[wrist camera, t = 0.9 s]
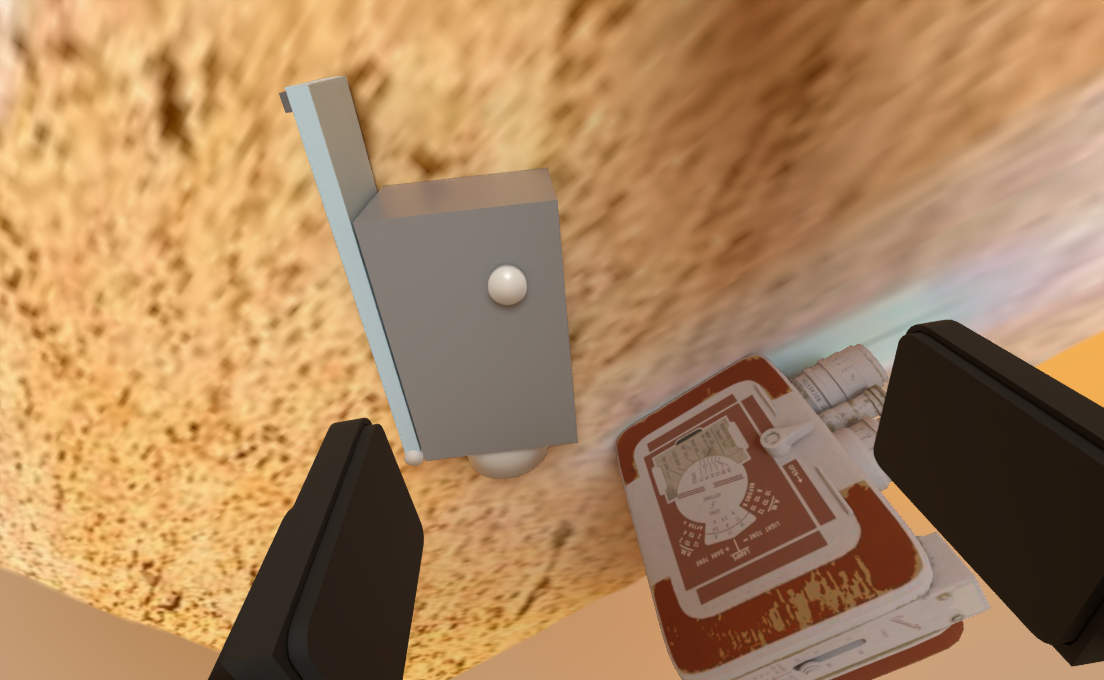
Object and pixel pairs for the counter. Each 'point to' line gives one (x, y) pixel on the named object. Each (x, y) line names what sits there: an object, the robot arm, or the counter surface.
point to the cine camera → (785, 530)
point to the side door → (349, 217)
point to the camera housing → (476, 314)
